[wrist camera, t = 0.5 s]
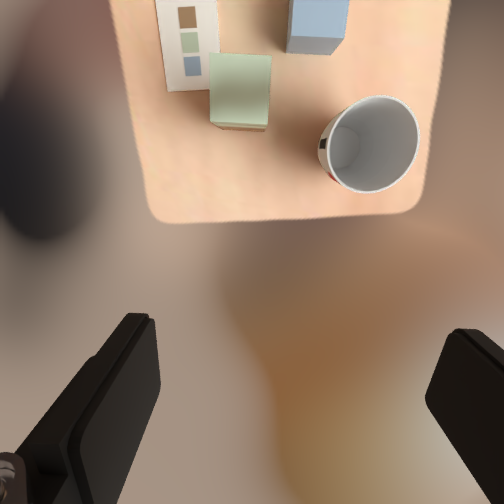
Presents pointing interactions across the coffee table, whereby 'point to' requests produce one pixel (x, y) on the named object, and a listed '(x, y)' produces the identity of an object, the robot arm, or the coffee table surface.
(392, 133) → the cup
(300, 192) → the coffee table surface
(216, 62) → the tower base
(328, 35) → the blue brick
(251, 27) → the coffee table surface
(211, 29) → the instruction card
